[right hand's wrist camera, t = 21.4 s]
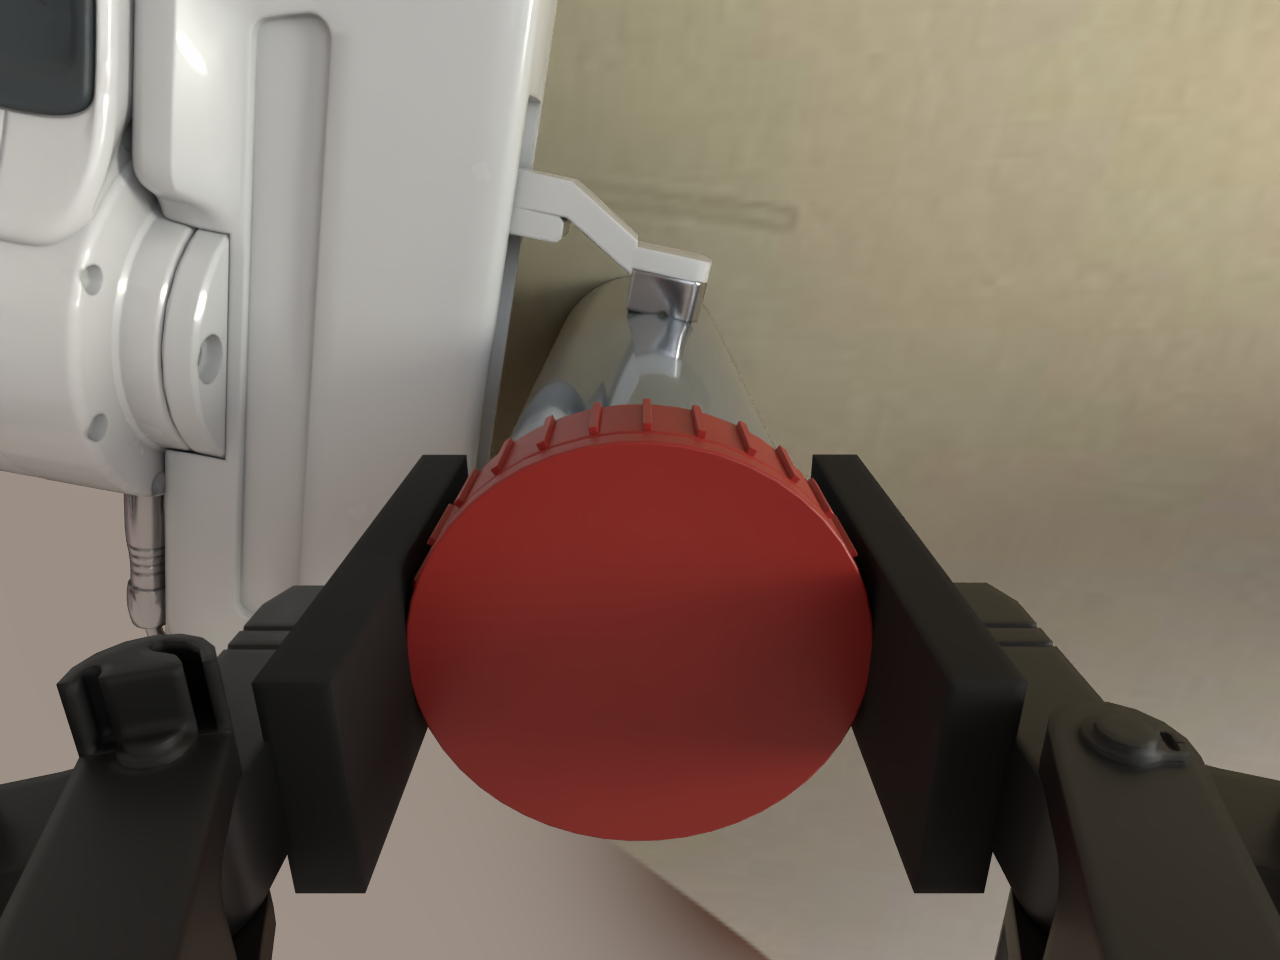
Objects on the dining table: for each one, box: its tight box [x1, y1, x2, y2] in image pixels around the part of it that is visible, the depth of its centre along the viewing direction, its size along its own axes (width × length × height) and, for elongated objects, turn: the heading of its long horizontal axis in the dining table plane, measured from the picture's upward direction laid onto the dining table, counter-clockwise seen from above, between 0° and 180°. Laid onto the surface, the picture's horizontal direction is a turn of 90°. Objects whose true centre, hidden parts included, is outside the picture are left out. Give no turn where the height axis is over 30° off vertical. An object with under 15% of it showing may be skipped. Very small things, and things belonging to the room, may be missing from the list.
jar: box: [509, 276, 775, 449], centre depth 19 cm, size 6×6×16 cm
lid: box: [406, 398, 873, 841], centre depth 11 cm, size 6×6×2 cm
